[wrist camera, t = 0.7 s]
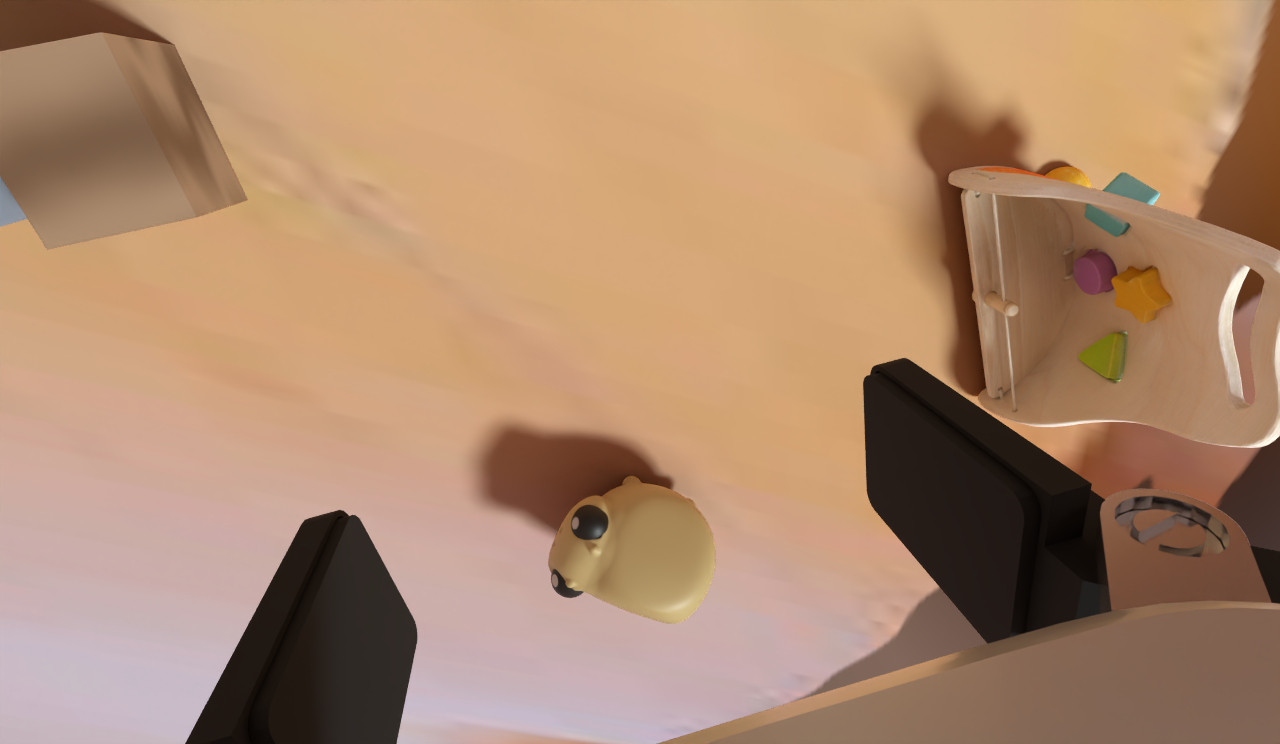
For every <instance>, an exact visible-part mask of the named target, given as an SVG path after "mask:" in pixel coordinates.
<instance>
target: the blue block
mask: <svg viewBox="0 0 1280 744" xmlns="http://www.w3.org/2000/svg"><path fill="white" fill-rule="evenodd" d="M24 219H27V217H26V216H25V214H24V213H23V211H22V209H21V208H20V206H19V205H18V203H17V202H16V200H15V199H14V197H13V195H12V194H11V192H10V191H9V189H8V188H7V186H6V185H5V183H4V181H3V180H2V178H1V177H0V227H1V226H4V225H7V224H11V223H14V222H17V221H21V220H24Z"/></svg>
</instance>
